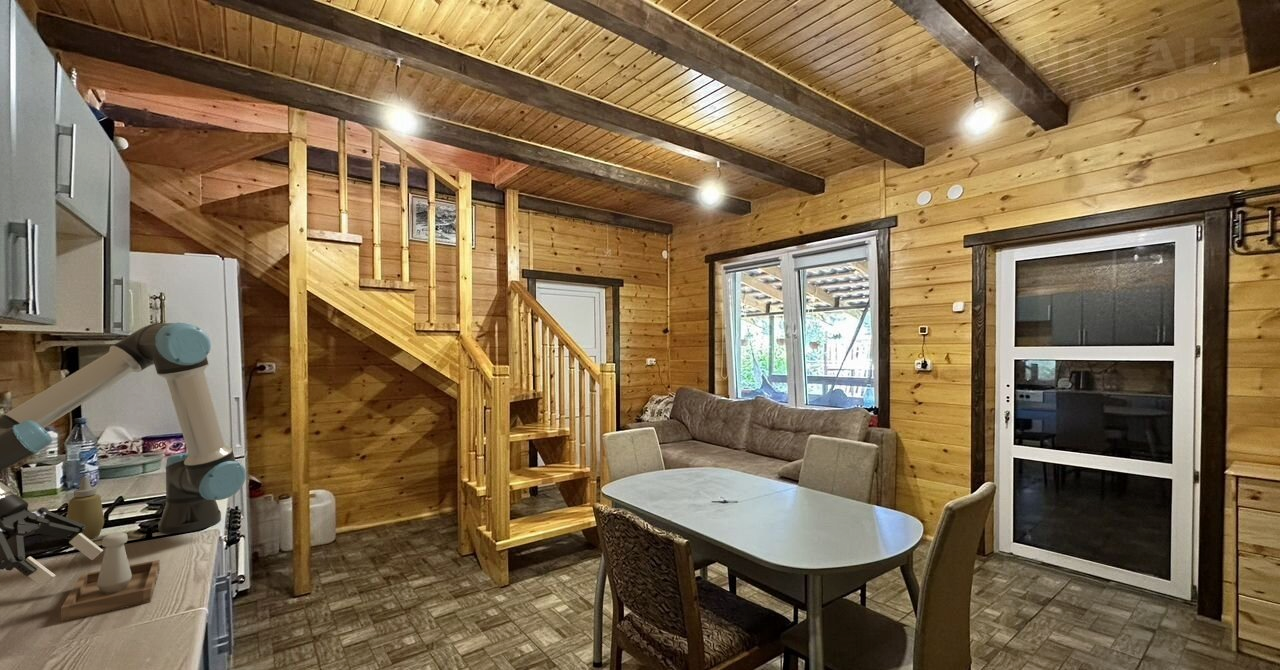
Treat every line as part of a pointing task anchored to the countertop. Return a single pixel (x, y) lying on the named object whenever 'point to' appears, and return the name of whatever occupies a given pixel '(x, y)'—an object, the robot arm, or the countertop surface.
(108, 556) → the salt shaker
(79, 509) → the squeeze bottle
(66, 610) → the walnut tray
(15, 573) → the countertop surface
